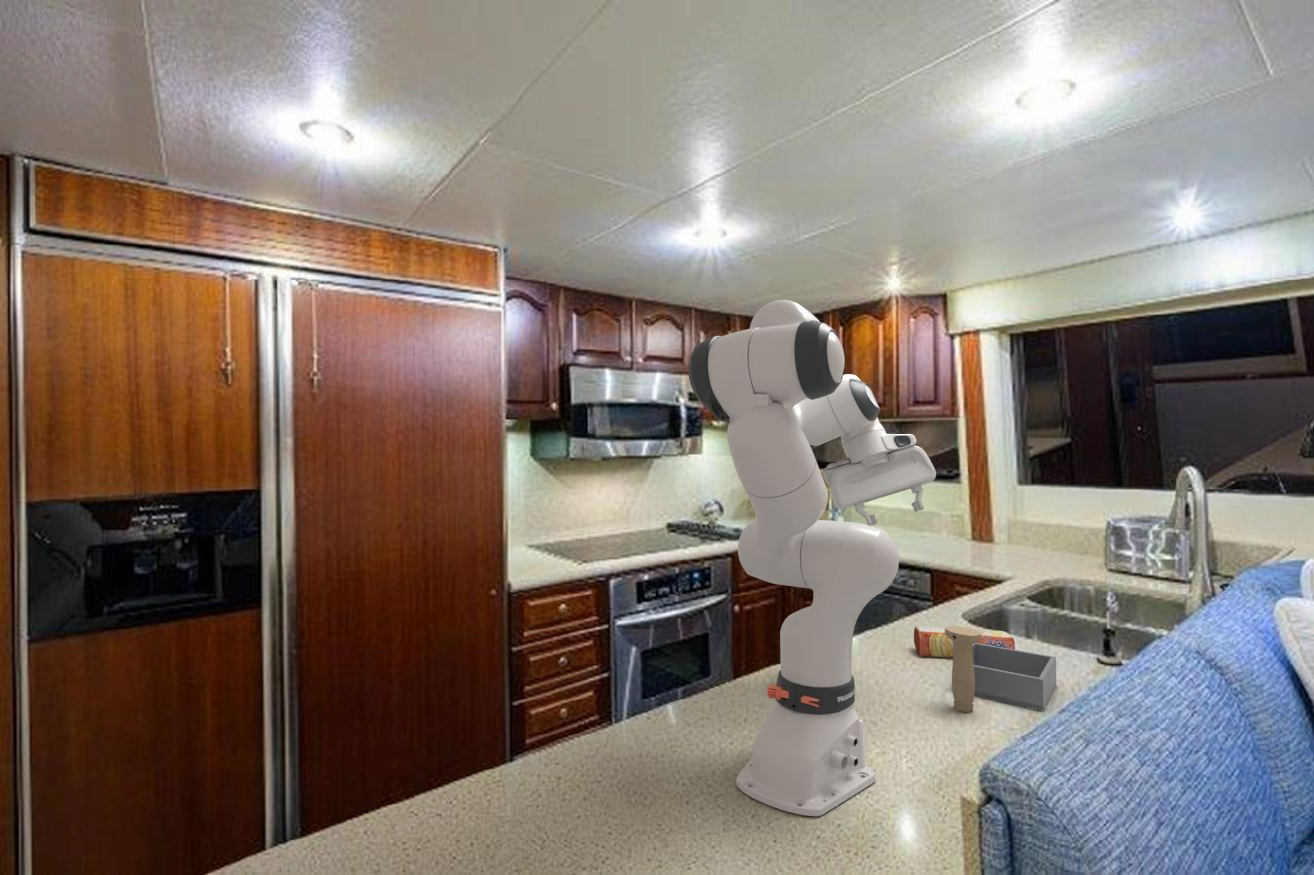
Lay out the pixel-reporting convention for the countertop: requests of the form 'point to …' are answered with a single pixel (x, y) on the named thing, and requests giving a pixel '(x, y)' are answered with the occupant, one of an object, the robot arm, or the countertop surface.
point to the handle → (963, 666)
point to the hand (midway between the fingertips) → (896, 517)
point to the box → (1013, 676)
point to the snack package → (940, 645)
